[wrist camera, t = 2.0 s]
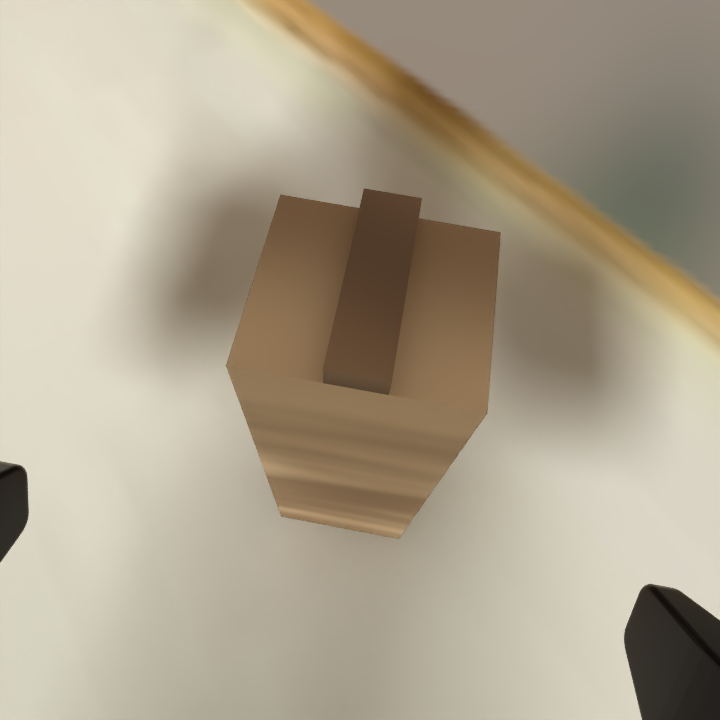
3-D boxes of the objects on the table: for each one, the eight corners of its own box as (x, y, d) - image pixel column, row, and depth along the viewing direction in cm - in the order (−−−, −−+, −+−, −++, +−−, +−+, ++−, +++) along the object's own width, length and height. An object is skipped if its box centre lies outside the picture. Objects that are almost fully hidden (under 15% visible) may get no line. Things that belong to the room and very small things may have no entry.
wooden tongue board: (398, 538, 19) (496, 400, 8) (281, 516, 19) (220, 350, 8) (412, 440, 20) (508, 213, 9) (304, 420, 20) (278, 173, 10)
